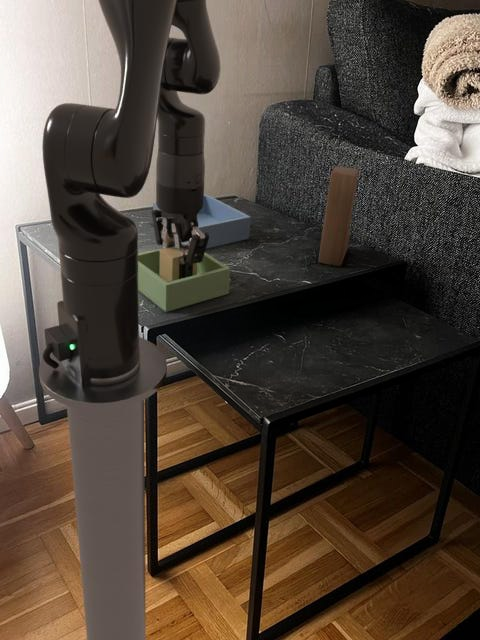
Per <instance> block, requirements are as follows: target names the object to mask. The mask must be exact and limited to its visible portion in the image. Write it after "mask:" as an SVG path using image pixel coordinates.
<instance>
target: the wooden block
mask: <svg viewBox="0 0 480 640" xmlns="http://www.w3.org/2000/svg"><path fill="white" fill-rule="evenodd" d="M359 171H360V170H359V169H358V168H352V167H346V166H339V165H336V166H334V168H333V170H332V171H331V173H330V177H329V178H330V179H329V185H328V191H327V192H328V193H327V201H326V206H325V212H324V219H323V226H322V233H321V239H320V245H319V253H318V263H320V264H325V265H329V266H334V267H341V266H342V264H343V262H344V259H345V256H346V254H347V252H348V247H349V243H350V242H349V241H350V235H351V230H350V227H351V226H350V225H351V220H352V214H353V208H354V201H355V195H356V189H357V184H358V178H359Z"/></svg>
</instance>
